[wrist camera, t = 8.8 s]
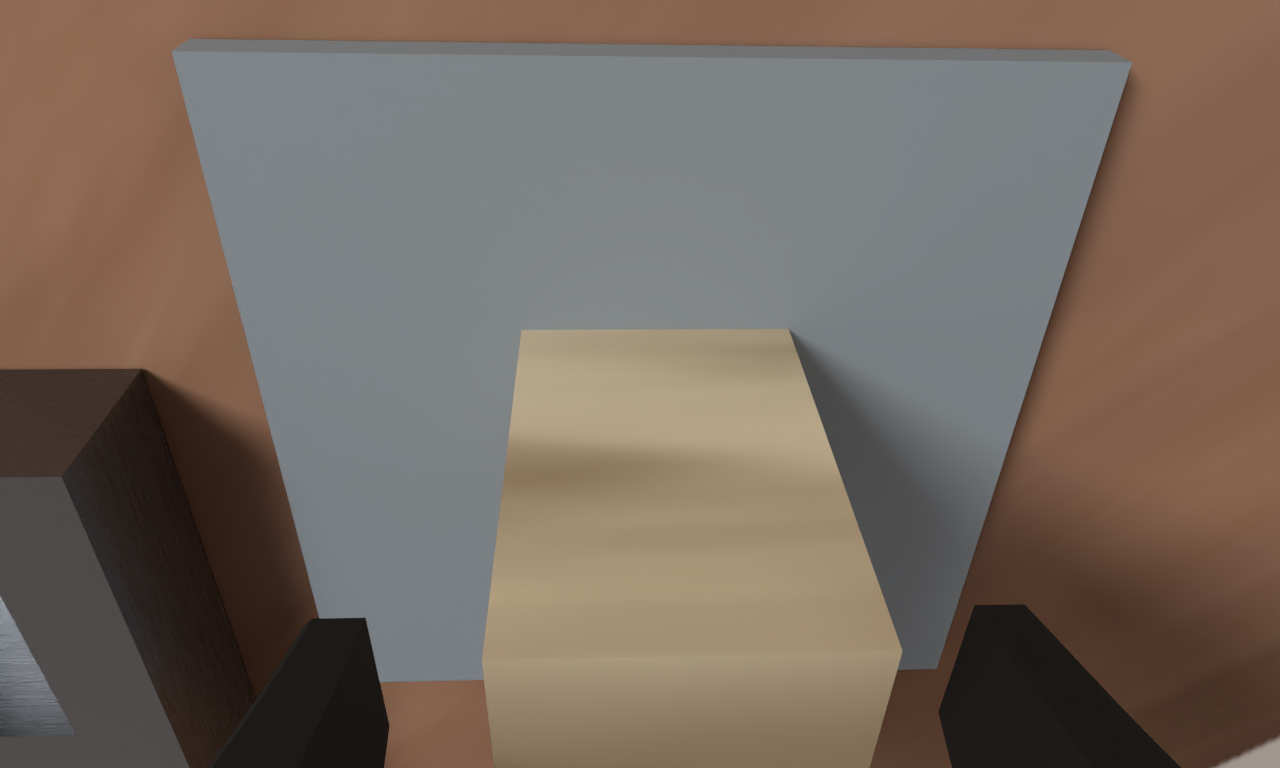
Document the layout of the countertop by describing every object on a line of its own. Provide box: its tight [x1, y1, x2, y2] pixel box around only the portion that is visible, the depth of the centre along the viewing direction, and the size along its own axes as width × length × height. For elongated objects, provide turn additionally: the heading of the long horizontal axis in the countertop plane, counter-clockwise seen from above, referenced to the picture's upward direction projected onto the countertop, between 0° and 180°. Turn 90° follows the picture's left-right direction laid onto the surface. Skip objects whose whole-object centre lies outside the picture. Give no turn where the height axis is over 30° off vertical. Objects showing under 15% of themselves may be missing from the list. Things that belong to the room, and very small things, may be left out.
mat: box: [172, 39, 1132, 682], centre depth 15 cm, size 12×12×1 cm
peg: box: [482, 329, 903, 768], centre depth 12 cm, size 4×4×6 cm
